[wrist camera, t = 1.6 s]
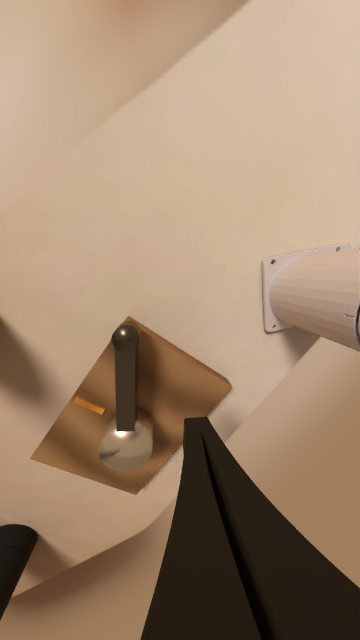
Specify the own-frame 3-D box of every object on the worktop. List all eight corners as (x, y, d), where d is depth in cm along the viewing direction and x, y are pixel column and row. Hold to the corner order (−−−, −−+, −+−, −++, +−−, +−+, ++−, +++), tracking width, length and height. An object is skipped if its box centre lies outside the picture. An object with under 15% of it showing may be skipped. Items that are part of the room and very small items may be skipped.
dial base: (128, 315, 17) (124, 320, 16) (227, 378, 21) (232, 387, 19) (39, 445, 20) (28, 460, 19) (137, 481, 24) (135, 496, 22)
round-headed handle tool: (152, 440, 20) (151, 469, 17) (108, 442, 19) (99, 472, 16) (158, 319, 16) (158, 329, 13) (103, 316, 15) (89, 326, 12)
